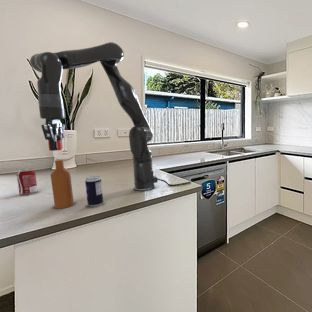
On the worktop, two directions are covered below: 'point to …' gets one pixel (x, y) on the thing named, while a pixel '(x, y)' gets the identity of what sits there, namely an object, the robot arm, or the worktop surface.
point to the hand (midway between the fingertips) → (56, 149)
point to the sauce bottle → (61, 186)
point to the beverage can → (94, 190)
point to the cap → (57, 145)
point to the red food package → (27, 181)
